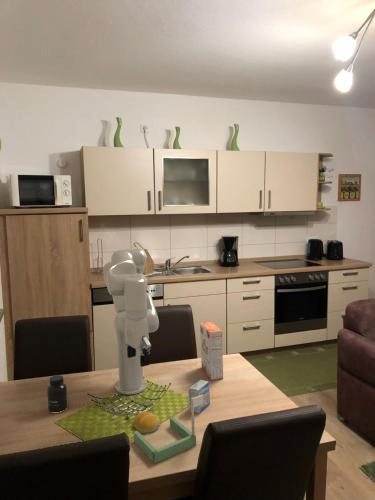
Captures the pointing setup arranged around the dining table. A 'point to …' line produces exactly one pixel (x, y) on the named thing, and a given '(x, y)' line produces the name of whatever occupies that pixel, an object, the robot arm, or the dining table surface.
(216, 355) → the cracker box
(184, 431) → the green u-shaped frame
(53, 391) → the supplement bottle
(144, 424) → the bread roll
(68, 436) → the dining table surface
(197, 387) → the medicine box
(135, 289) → the robot arm
